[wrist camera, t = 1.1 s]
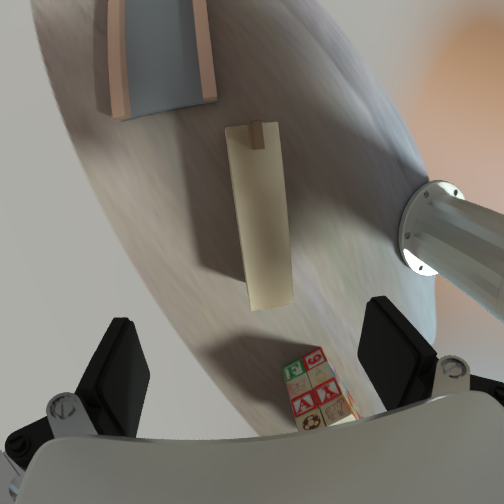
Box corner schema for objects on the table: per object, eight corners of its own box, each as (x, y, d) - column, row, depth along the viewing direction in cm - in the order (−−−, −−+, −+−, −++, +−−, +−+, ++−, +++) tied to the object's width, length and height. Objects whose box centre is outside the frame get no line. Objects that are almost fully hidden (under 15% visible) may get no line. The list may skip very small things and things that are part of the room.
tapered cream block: (265, 126, 26) (286, 117, 18) (281, 276, 32) (302, 321, 23) (224, 131, 26) (226, 123, 17) (245, 281, 32) (255, 330, 23)
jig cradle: (200, -45, 17) (199, -60, 14) (217, 102, 24) (217, 96, 21) (119, -27, 17) (111, -40, 14) (123, 121, 24) (112, 118, 21)
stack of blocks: (361, 411, 44) (385, 462, 32) (331, 427, 44) (351, 479, 33) (320, 345, 36) (353, 414, 25) (279, 367, 37) (299, 440, 25)
